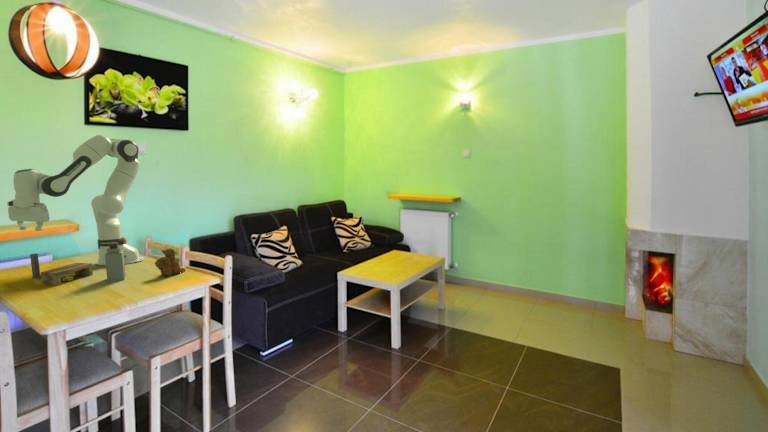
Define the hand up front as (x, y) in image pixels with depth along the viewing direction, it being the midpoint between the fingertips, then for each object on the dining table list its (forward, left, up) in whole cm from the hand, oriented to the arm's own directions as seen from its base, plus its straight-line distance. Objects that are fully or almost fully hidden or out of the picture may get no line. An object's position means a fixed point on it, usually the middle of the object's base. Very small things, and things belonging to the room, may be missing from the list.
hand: (30, 230), depth 192 cm
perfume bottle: (-35, +23, -24) cm, 48 cm away
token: (-15, +12, -24) cm, 31 cm away
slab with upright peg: (-4, +4, -24) cm, 25 cm away
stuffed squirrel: (-58, +26, -24) cm, 68 cm away
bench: (-15, +12, -24) cm, 31 cm away
